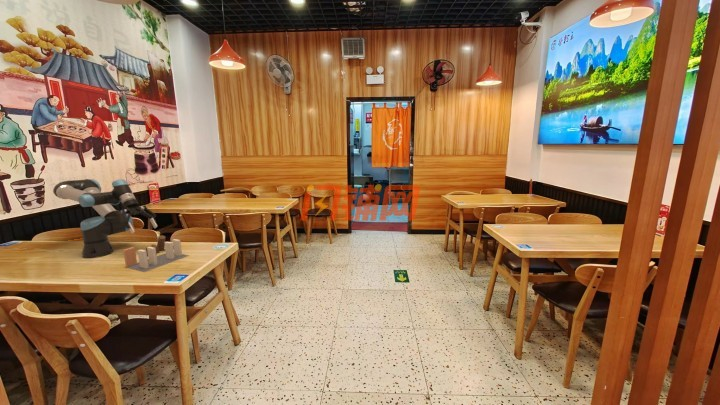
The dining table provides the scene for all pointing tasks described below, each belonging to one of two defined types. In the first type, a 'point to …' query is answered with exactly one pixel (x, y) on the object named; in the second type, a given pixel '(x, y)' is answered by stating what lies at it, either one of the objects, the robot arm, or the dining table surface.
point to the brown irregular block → (158, 244)
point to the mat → (160, 259)
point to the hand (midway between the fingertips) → (145, 229)
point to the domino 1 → (130, 256)
